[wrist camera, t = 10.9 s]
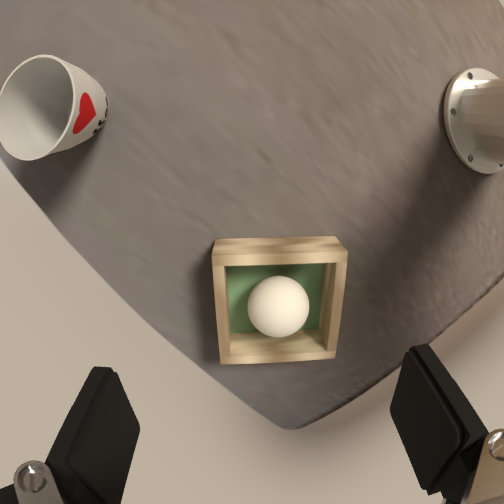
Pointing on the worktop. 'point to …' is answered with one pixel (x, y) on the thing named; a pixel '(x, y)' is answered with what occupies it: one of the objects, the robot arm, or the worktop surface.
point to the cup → (49, 108)
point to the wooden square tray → (288, 265)
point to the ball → (278, 306)
